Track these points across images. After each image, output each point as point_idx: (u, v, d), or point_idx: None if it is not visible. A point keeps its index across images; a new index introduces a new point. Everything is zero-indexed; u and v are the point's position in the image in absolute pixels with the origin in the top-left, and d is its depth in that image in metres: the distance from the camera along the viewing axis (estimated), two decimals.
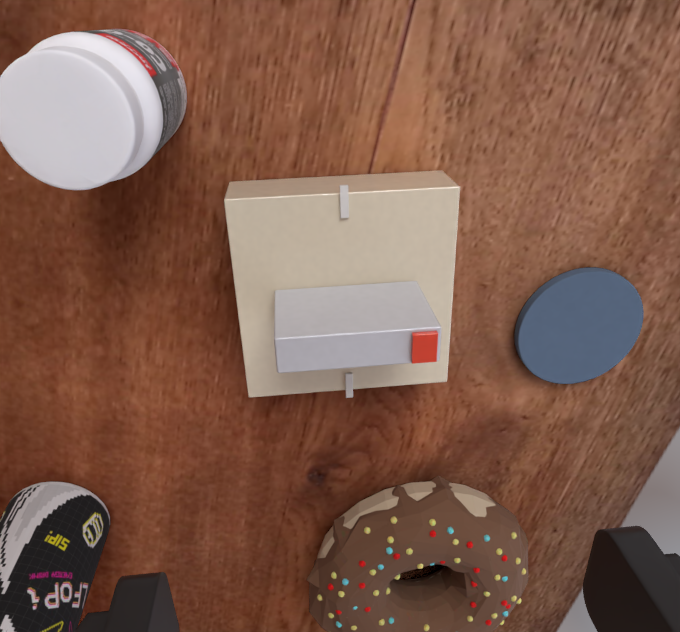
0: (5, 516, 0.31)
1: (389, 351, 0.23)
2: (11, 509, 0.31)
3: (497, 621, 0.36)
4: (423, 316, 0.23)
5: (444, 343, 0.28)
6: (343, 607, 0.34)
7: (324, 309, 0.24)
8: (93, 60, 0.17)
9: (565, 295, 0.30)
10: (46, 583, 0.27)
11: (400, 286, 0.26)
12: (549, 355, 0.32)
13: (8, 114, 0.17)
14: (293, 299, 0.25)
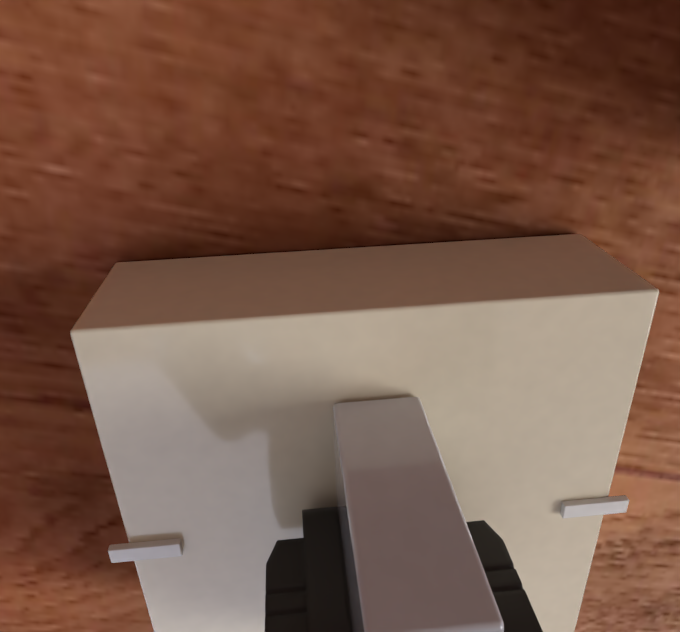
0: None
1: None
2: None
3: None
4: None
5: None
6: None
7: None
8: None
9: None
10: None
11: None
12: None
13: None
14: None
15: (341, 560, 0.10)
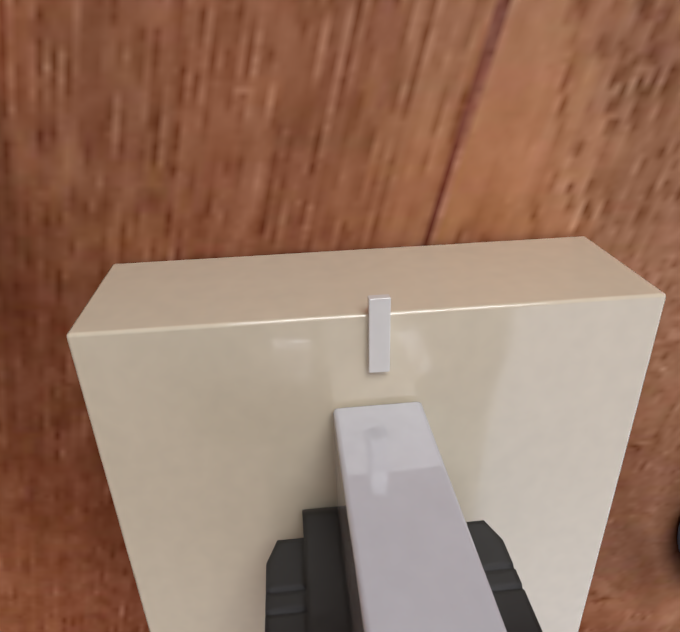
0: None
1: None
2: None
3: None
4: None
5: (578, 594, 0.13)
6: None
7: None
8: None
9: None
10: None
11: None
12: None
13: None
14: None
15: (341, 560, 0.10)
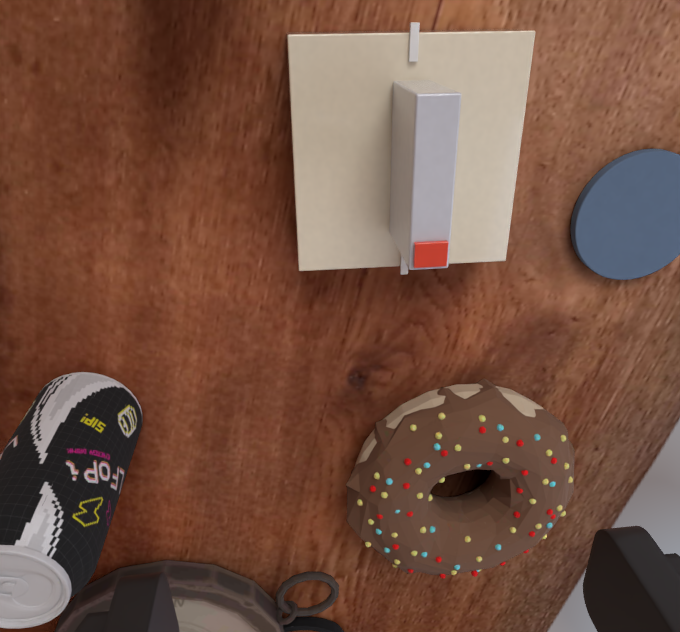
0: (36, 402, 0.29)
1: (428, 219, 0.22)
2: (42, 396, 0.30)
3: (540, 533, 0.35)
4: None
5: (506, 215, 0.27)
6: (385, 510, 0.32)
7: None
8: None
9: (627, 177, 0.29)
10: (84, 459, 0.26)
11: None
12: (606, 246, 0.31)
13: None
14: None
15: None
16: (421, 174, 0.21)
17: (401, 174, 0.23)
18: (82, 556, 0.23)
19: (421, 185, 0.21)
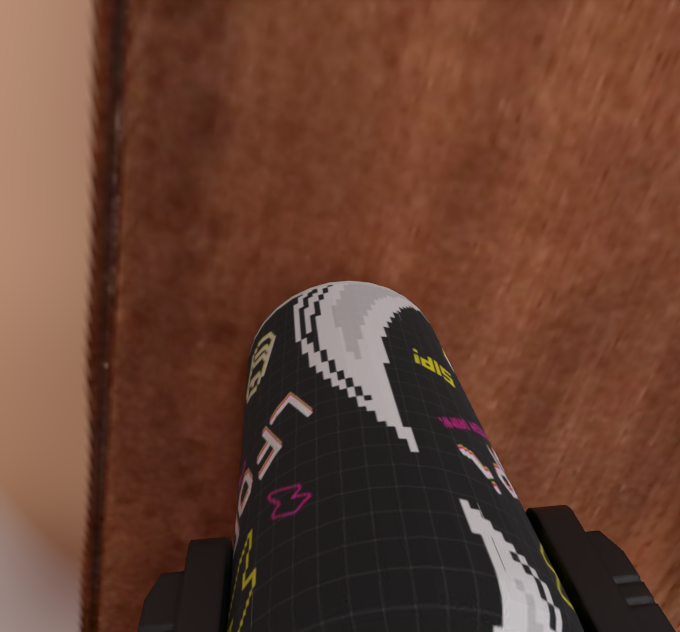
0: (285, 333, 0.14)
1: None
2: (293, 321, 0.15)
3: None
4: None
5: None
6: None
7: None
8: None
9: None
10: (476, 442, 0.11)
11: None
12: None
13: None
14: None
15: (218, 598, 0.09)
16: None
17: None
18: None
19: None
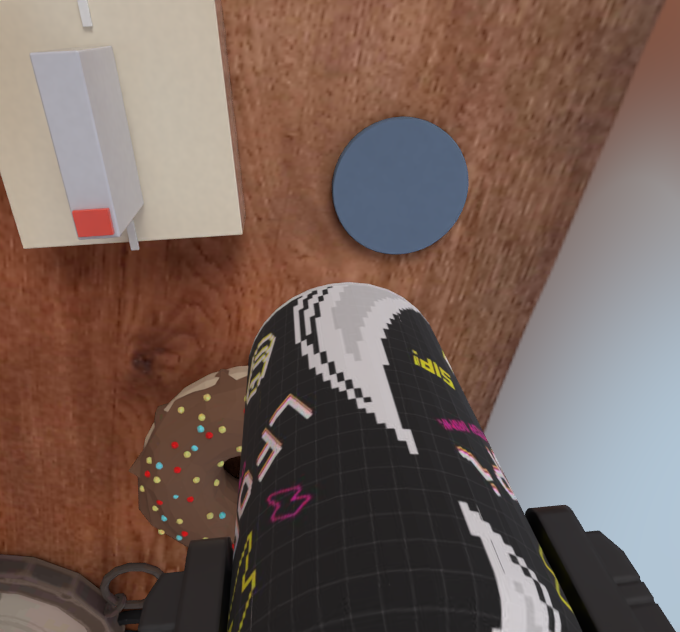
0: (285, 334, 0.14)
1: (81, 186, 0.21)
2: (293, 322, 0.15)
3: None
4: (123, 217, 0.23)
5: (230, 186, 0.26)
6: (162, 495, 0.32)
7: (108, 107, 0.22)
8: None
9: (377, 147, 0.28)
10: (476, 444, 0.11)
11: (137, 188, 0.25)
12: (371, 219, 0.30)
13: None
14: (109, 69, 0.22)
15: (218, 598, 0.09)
16: (59, 138, 0.20)
17: None
18: None
19: (63, 149, 0.20)
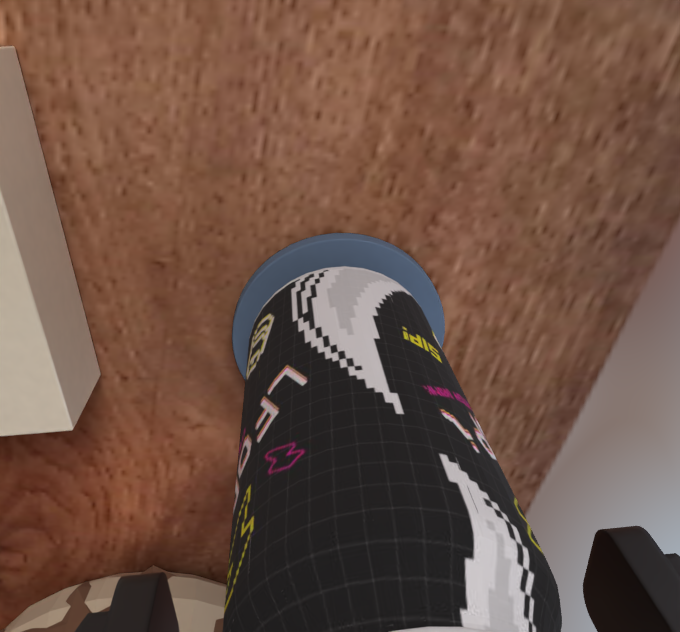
0: (283, 314, 0.15)
1: None
2: (291, 303, 0.16)
3: None
4: None
5: (42, 364, 0.16)
6: None
7: None
8: None
9: None
10: (459, 409, 0.12)
11: None
12: None
13: None
14: None
15: None
16: None
17: None
18: None
19: None
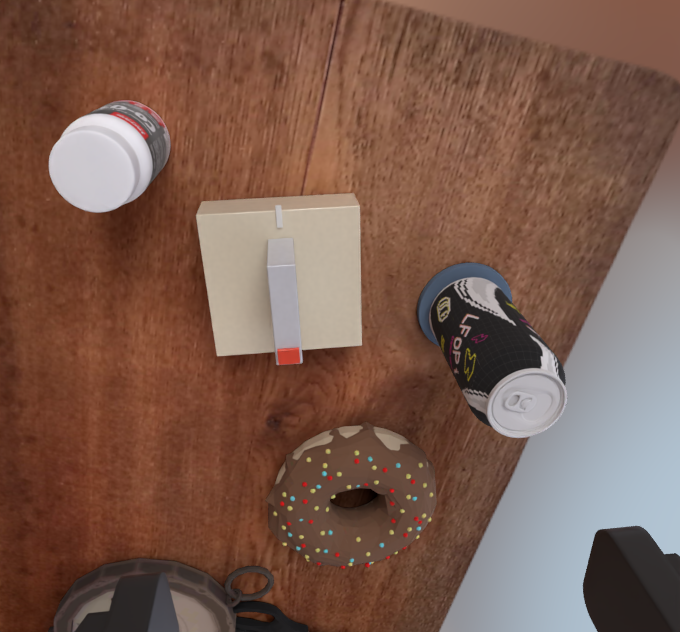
0: (454, 296, 0.39)
1: (284, 335, 0.34)
2: (456, 292, 0.39)
3: (413, 535, 0.47)
4: None
5: (357, 316, 0.39)
6: (292, 519, 0.44)
7: None
8: (109, 135, 0.27)
9: None
10: (530, 326, 0.35)
11: None
12: None
13: (58, 167, 0.28)
14: None
15: None
16: (276, 310, 0.33)
17: None
18: (564, 385, 0.33)
19: (277, 316, 0.33)
